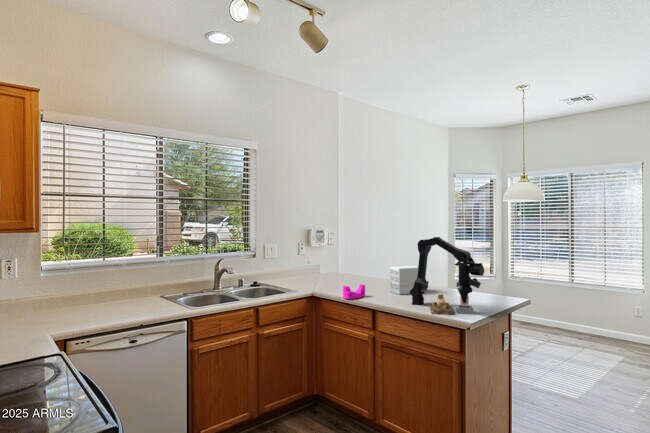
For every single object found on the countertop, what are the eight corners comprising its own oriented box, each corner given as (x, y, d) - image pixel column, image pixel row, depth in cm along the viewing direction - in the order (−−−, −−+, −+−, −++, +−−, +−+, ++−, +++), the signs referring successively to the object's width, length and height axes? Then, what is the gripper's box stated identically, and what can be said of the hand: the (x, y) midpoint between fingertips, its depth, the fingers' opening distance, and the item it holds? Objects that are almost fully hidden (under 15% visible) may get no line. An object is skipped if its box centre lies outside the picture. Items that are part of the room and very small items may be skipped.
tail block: (460, 304, 214) (460, 295, 214) (460, 303, 218) (460, 294, 218) (468, 305, 213) (468, 295, 213) (467, 303, 217) (467, 294, 217)
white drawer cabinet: (410, 290, 284) (410, 265, 284) (421, 293, 271) (420, 267, 271) (389, 291, 278) (389, 266, 278) (399, 294, 265) (399, 268, 265)
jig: (431, 313, 212) (431, 309, 212) (429, 305, 231) (429, 301, 231) (454, 314, 209) (454, 310, 209) (450, 306, 229) (450, 302, 229)
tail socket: (457, 313, 212) (457, 307, 212) (455, 309, 221) (455, 304, 221) (473, 314, 211) (473, 308, 211) (471, 310, 219) (471, 305, 219)
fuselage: (438, 311, 215) (438, 298, 215) (437, 306, 226) (437, 294, 226) (445, 311, 214) (445, 298, 214) (444, 306, 225) (444, 294, 225)
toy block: (348, 299, 253) (348, 287, 253) (343, 297, 258) (343, 286, 258) (367, 296, 260) (367, 285, 260) (362, 295, 265) (362, 284, 265)
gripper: (482, 277, 205) (482, 306, 205) (476, 272, 223) (476, 299, 223) (460, 276, 207) (460, 305, 207) (456, 271, 226) (456, 298, 226)
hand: (464, 302), depth 216 cm, fingers closed on tail block, 4 cm apart
